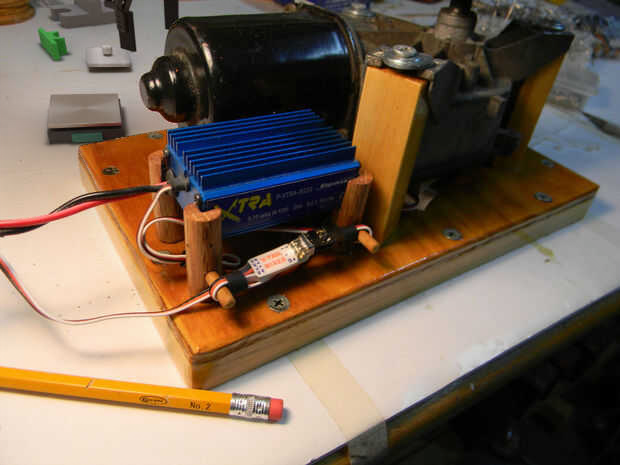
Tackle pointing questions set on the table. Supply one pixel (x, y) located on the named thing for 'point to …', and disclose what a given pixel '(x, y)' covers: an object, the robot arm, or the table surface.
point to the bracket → (83, 13)
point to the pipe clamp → (53, 43)
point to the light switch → (107, 57)
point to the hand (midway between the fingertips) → (151, 39)
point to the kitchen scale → (86, 133)
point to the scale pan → (84, 110)
